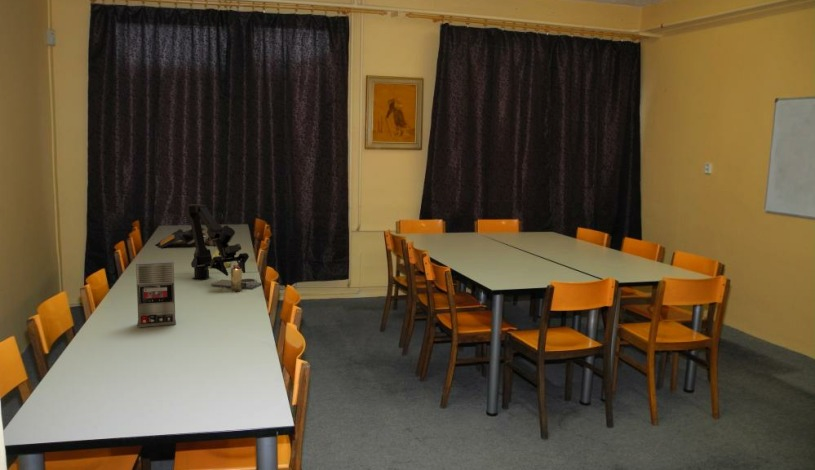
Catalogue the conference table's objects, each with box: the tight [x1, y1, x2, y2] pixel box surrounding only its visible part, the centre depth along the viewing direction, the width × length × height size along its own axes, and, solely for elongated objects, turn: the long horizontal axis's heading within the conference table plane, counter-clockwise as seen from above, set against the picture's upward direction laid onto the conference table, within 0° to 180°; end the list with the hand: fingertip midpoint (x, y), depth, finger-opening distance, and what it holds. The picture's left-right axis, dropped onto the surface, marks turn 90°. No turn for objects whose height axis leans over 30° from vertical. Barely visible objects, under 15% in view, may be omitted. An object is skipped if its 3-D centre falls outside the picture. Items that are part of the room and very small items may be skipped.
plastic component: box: [208, 249, 231, 269], centre depth 364 cm, size 20×7×10 cm
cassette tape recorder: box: [135, 259, 177, 328], centre depth 248 cm, size 14×6×25 cm, turn 114°
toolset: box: [154, 227, 216, 249], centre depth 425 cm, size 40×20×27 cm
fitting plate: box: [210, 278, 263, 291], centre depth 316 cm, size 22×11×3 cm, turn 78°
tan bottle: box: [230, 264, 243, 293], centre depth 305 cm, size 5×5×12 cm
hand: (236, 274), depth 305 cm, fingers open, 9 cm apart
